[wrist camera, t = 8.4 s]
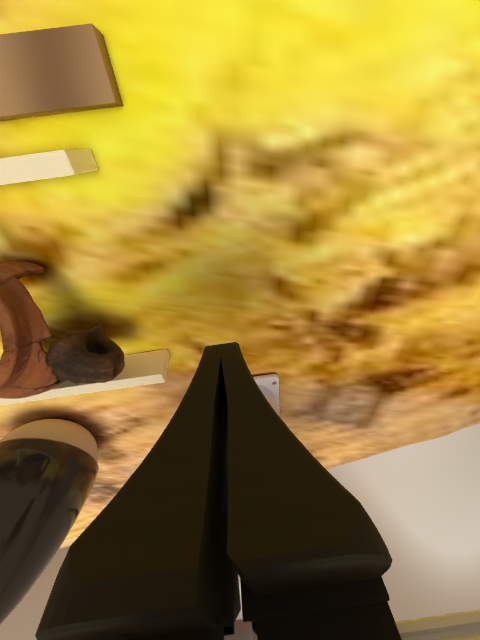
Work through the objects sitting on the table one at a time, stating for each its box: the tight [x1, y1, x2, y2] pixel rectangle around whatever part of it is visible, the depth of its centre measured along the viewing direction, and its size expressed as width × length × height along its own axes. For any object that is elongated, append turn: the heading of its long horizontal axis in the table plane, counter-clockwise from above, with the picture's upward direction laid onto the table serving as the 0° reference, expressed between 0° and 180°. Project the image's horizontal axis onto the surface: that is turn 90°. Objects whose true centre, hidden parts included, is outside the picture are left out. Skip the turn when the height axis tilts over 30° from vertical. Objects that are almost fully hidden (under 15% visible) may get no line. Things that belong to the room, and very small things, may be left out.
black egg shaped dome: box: [0, 419, 99, 625], centre depth 22 cm, size 10×10×15 cm
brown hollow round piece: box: [0, 261, 125, 399], centre depth 17 cm, size 12×9×8 cm
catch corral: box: [0, 149, 170, 406], centre depth 17 cm, size 16×16×3 cm
